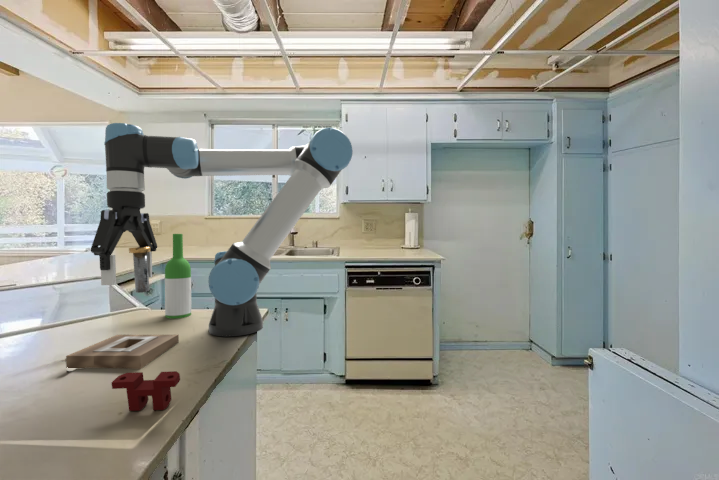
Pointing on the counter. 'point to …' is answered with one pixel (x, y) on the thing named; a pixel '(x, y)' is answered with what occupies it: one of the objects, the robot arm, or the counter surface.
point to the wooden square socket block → (122, 352)
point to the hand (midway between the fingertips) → (129, 280)
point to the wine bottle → (177, 282)
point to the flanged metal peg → (140, 268)
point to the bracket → (147, 389)
